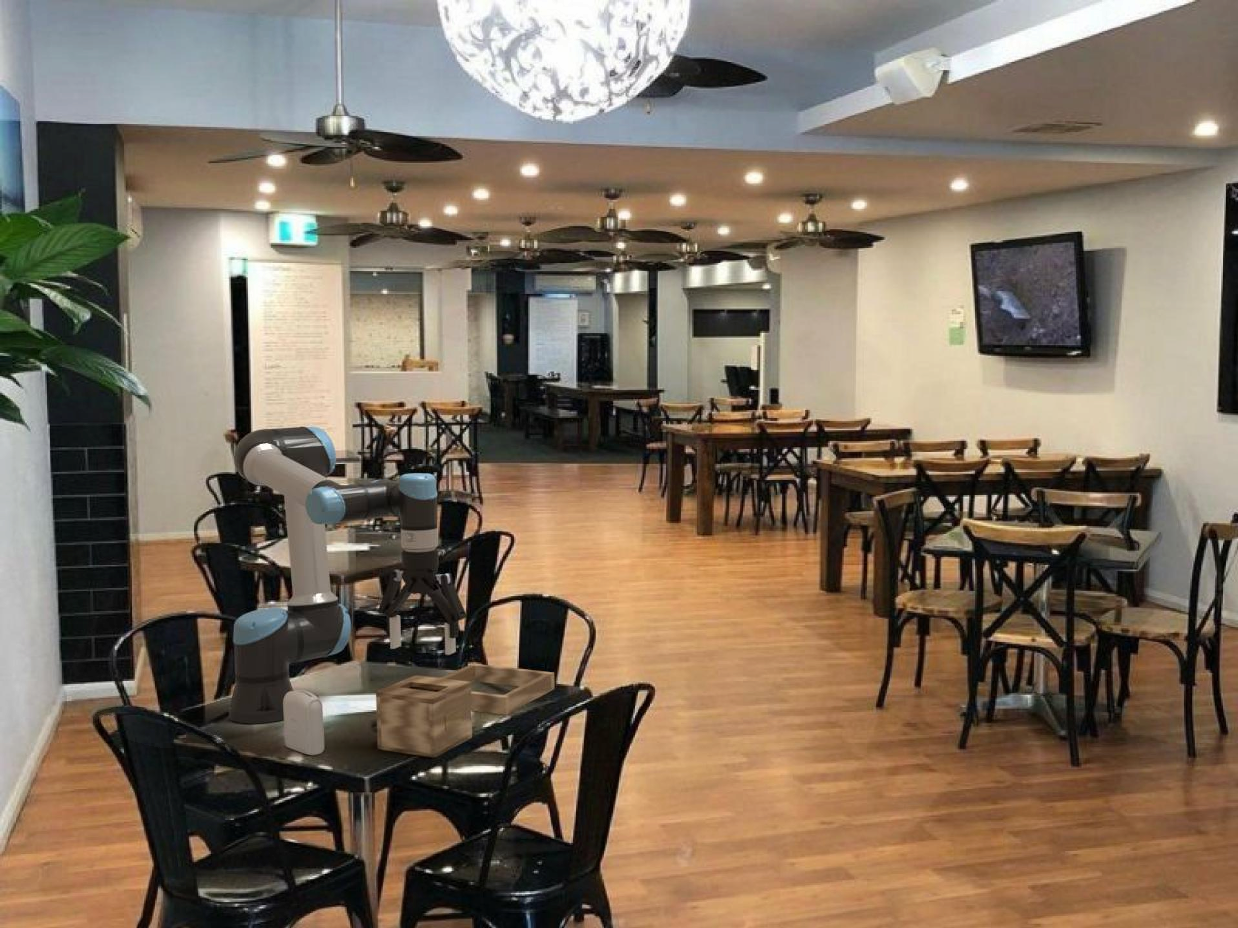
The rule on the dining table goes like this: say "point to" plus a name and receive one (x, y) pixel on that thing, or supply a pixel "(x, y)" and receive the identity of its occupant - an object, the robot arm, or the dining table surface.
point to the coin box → (424, 715)
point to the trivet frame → (526, 680)
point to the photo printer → (303, 722)
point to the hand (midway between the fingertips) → (422, 650)
